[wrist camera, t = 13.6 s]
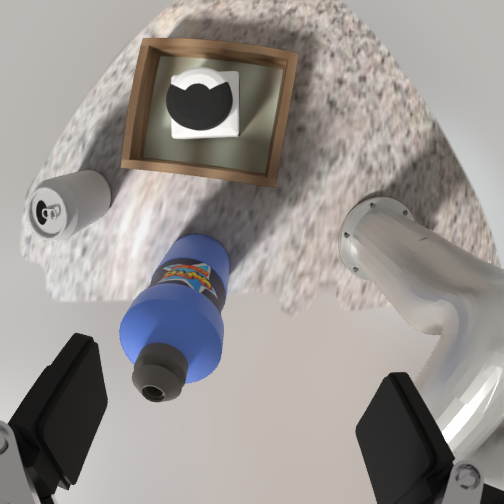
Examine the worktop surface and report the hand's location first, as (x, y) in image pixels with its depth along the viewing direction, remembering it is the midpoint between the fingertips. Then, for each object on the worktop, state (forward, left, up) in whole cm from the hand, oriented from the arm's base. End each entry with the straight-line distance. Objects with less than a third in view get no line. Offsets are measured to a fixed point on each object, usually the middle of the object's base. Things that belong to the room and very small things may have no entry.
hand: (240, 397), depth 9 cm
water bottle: (+5, +10, -34) cm, 35 cm away
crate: (+6, -11, -33) cm, 36 cm away
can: (+22, +2, -34) cm, 40 cm away
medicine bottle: (+6, -11, -33) cm, 35 cm away
